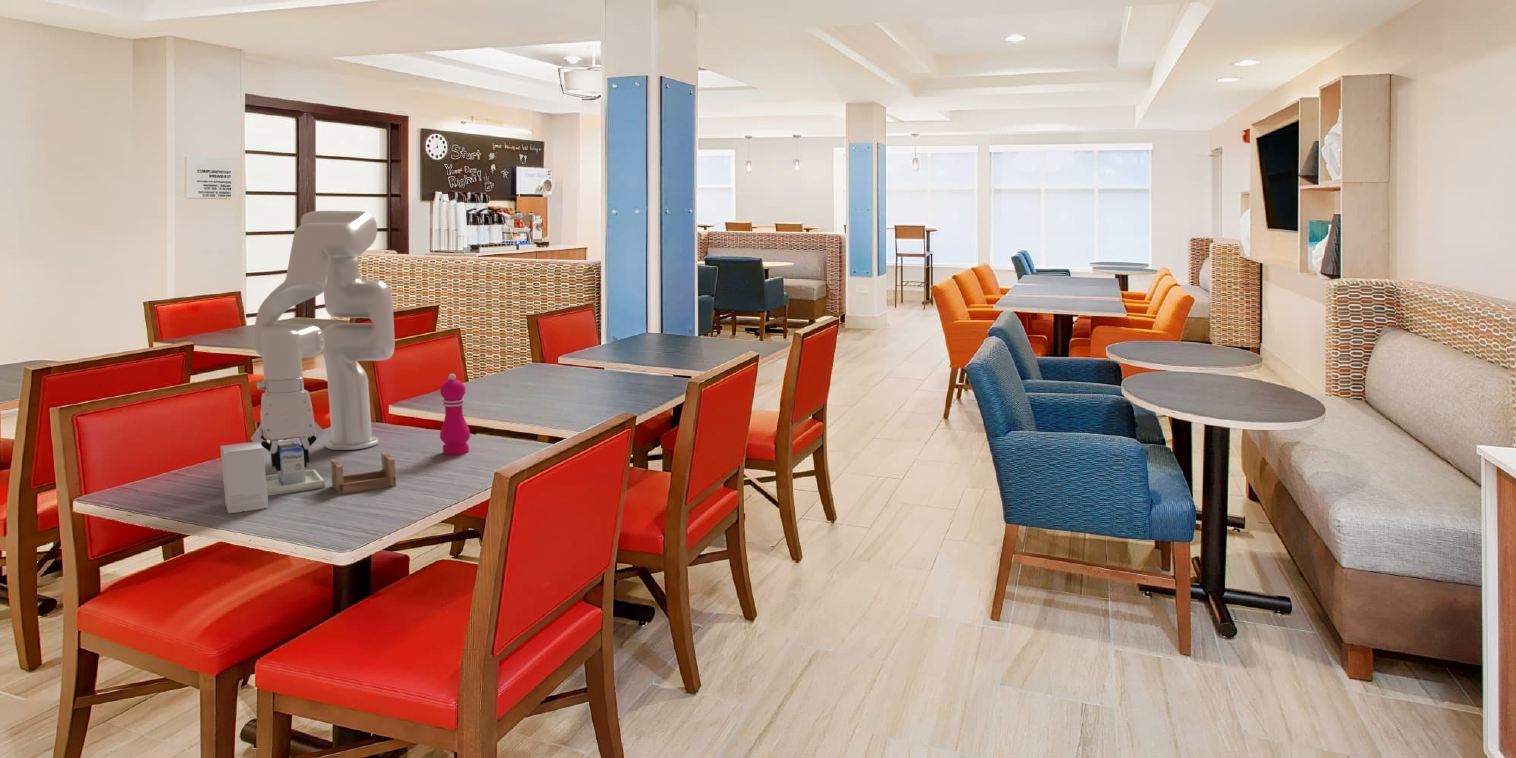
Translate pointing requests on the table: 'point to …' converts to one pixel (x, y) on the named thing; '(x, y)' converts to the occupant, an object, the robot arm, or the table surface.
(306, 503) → the table surface
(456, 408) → the pepper mill
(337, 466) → the holder
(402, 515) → the table surface
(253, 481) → the supplement box
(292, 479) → the medicine box
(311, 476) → the tray
